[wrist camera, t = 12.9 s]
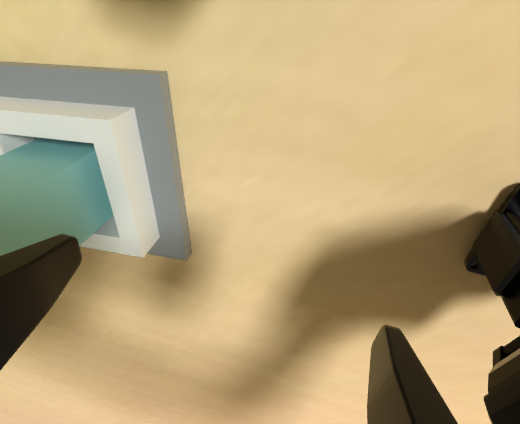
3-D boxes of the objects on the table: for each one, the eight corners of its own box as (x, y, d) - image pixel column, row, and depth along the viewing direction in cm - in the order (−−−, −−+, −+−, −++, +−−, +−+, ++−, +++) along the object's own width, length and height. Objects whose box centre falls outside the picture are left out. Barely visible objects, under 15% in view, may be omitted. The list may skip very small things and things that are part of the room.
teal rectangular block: (107, 142, 22) (-115, 277, 12) (123, 205, 25) (-45, 360, 15) (39, 135, 23) (-222, 252, 13) (62, 196, 26) (-138, 335, 16)
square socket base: (166, 71, 20) (135, 84, 17) (191, 252, 28) (172, 282, 25) (-25, 60, 22) (-80, 70, 20) (46, 228, 30) (14, 252, 27)
